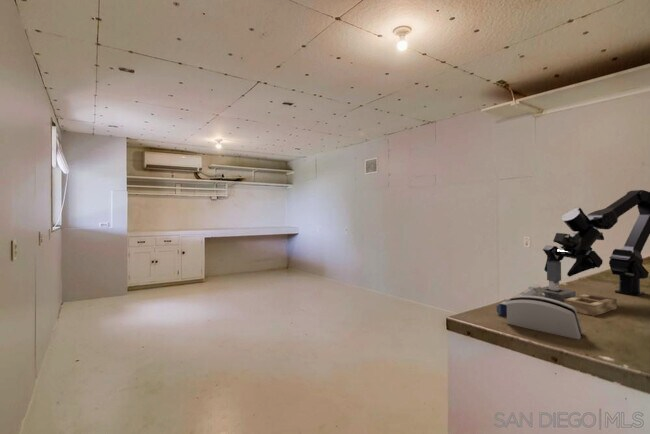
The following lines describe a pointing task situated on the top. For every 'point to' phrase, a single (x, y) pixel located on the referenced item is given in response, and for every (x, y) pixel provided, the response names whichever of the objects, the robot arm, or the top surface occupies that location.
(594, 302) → the rack
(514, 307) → the grey arched slab
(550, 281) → the tall grey square pillar
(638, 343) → the top surface
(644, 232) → the robot arm
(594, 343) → the top surface
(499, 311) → the white bulb-headed handheld tool
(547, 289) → the socket
